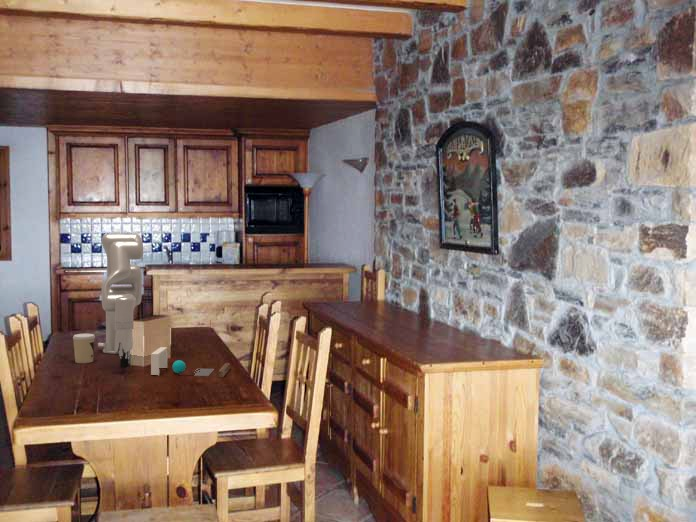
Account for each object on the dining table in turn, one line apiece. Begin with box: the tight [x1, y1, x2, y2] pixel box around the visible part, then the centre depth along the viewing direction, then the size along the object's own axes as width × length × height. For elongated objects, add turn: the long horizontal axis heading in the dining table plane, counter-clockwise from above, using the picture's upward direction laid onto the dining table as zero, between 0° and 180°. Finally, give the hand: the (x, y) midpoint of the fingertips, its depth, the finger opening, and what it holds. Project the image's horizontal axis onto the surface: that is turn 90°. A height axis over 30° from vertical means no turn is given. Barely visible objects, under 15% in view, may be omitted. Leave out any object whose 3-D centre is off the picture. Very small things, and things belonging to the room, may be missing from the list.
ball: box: [172, 359, 187, 374], centre depth 312 cm, size 6×6×6 cm
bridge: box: [150, 346, 168, 376], centre depth 314 cm, size 3×14×9 cm, turn 179°
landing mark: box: [193, 368, 215, 377], centre depth 314 cm, size 13×13×1 cm
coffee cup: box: [72, 333, 96, 364], centre depth 331 cm, size 9×9×12 cm
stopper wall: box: [217, 362, 231, 378], centre depth 314 cm, size 2×16×2 cm, turn 179°
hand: (124, 367), depth 314 cm, fingers closed
